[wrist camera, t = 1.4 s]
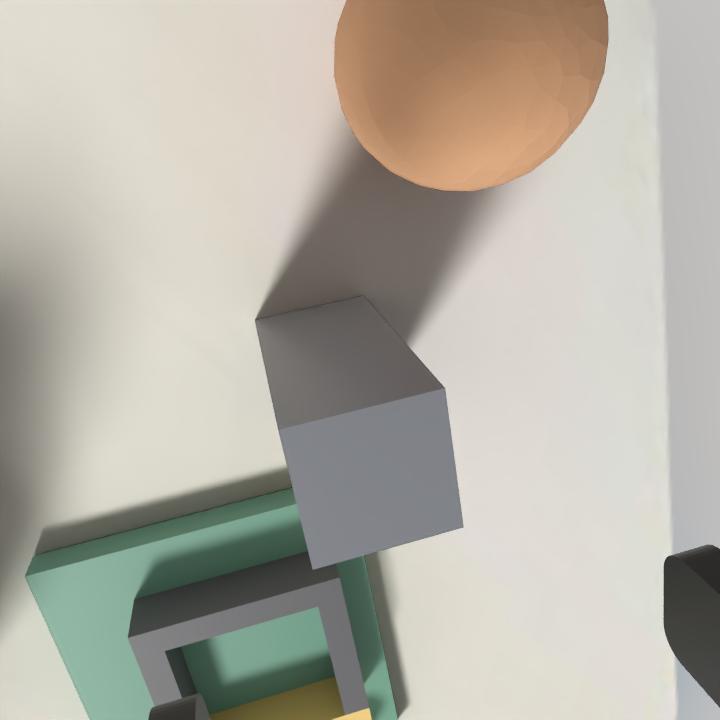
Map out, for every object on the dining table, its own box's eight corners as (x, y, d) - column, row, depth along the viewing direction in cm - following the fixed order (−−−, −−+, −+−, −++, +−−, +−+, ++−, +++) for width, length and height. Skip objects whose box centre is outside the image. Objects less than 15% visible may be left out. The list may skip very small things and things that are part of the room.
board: (33, 555, 24) (8, 615, 21) (344, 473, 26) (361, 518, 23) (142, 804, 29) (134, 879, 26) (396, 722, 31) (415, 785, 28)
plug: (254, 319, 23) (278, 429, 15) (363, 295, 24) (444, 388, 15) (279, 422, 25) (313, 574, 16) (381, 397, 25) (463, 532, 17)
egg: (400, 220, 23) (505, 274, 15) (269, 55, 20) (309, 7, 12) (548, 89, 22) (742, 68, 14) (434, -97, 20) (592, -255, 12)
